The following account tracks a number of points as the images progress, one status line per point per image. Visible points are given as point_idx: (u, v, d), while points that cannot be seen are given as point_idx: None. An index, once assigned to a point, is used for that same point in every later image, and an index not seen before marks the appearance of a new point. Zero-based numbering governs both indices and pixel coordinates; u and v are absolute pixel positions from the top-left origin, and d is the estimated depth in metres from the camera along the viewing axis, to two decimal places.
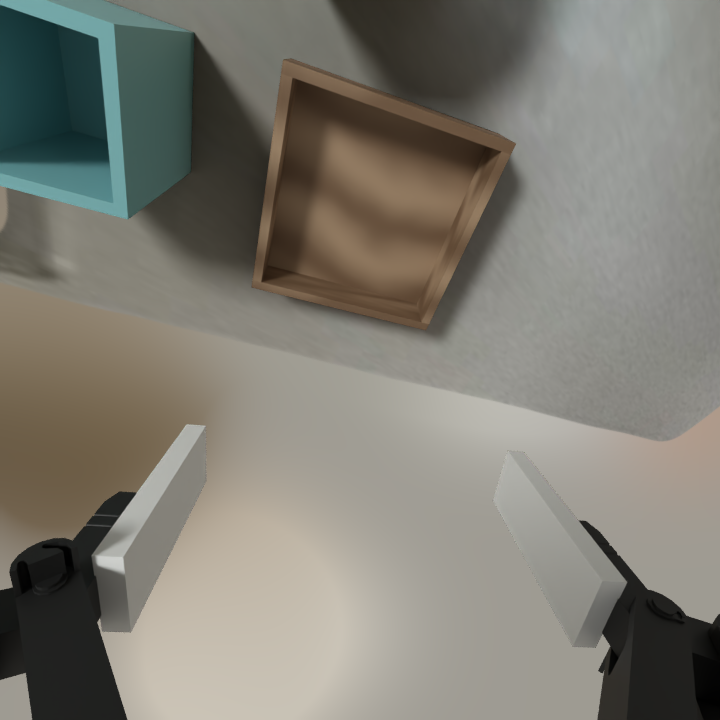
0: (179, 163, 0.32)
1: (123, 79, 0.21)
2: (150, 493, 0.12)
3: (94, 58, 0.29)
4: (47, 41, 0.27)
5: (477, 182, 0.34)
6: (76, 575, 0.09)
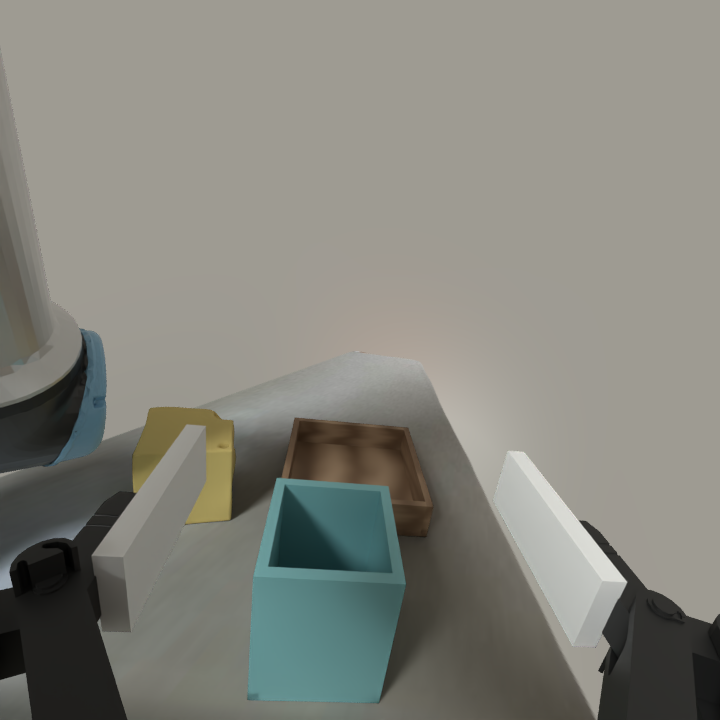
0: None
1: None
2: (150, 493, 0.12)
3: None
4: None
5: (317, 434, 0.61)
6: (76, 575, 0.09)
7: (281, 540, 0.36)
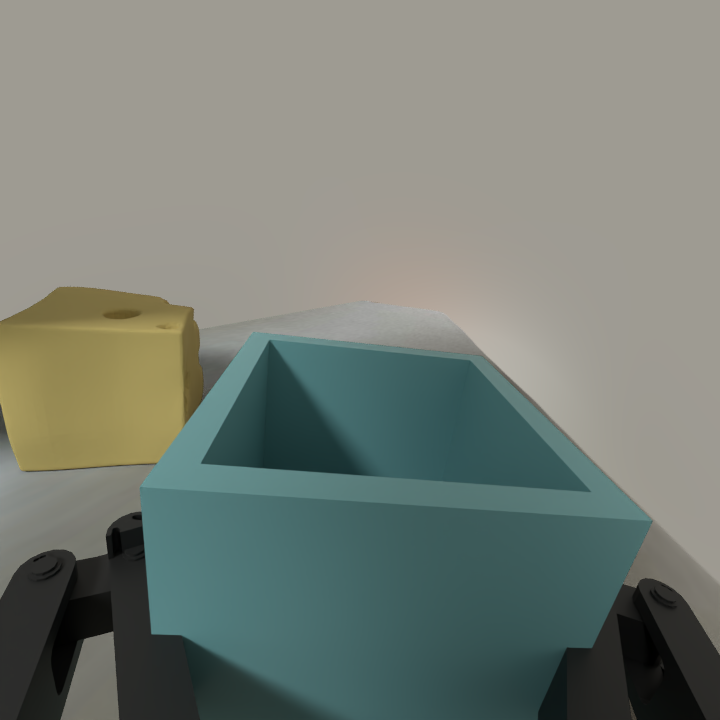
0: None
1: None
2: None
3: None
4: None
5: None
6: None
7: None
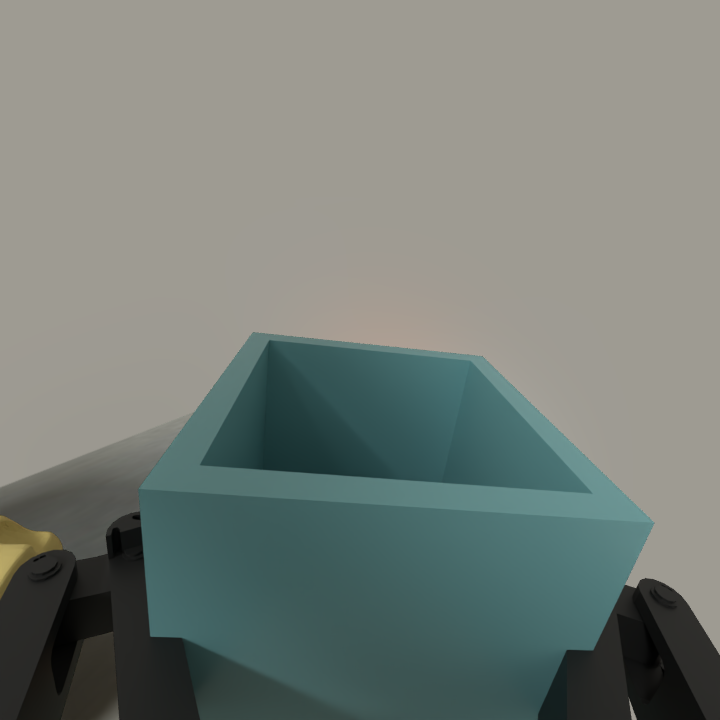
0: None
1: None
2: None
3: None
4: None
5: None
6: None
7: None
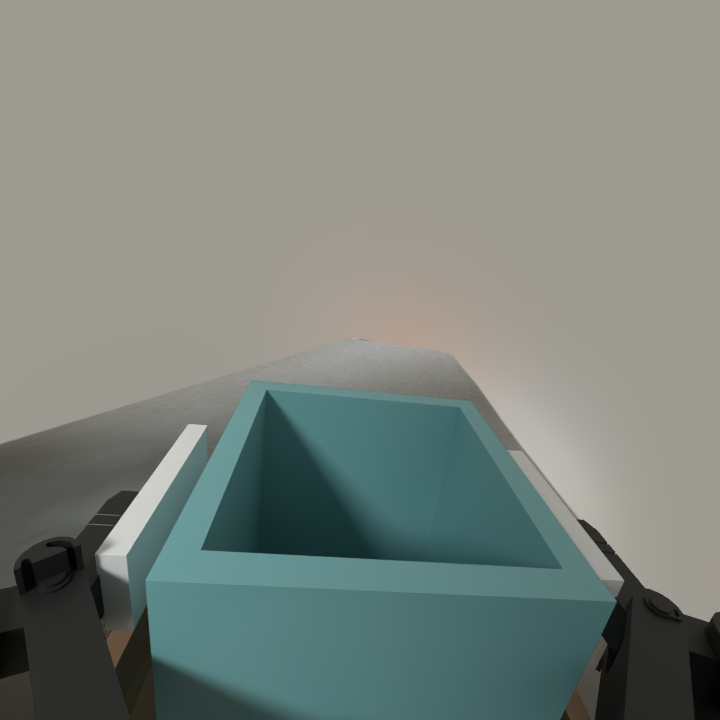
0: None
1: None
2: (152, 492, 0.12)
3: None
4: None
5: None
6: (80, 574, 0.09)
7: (262, 509, 0.18)
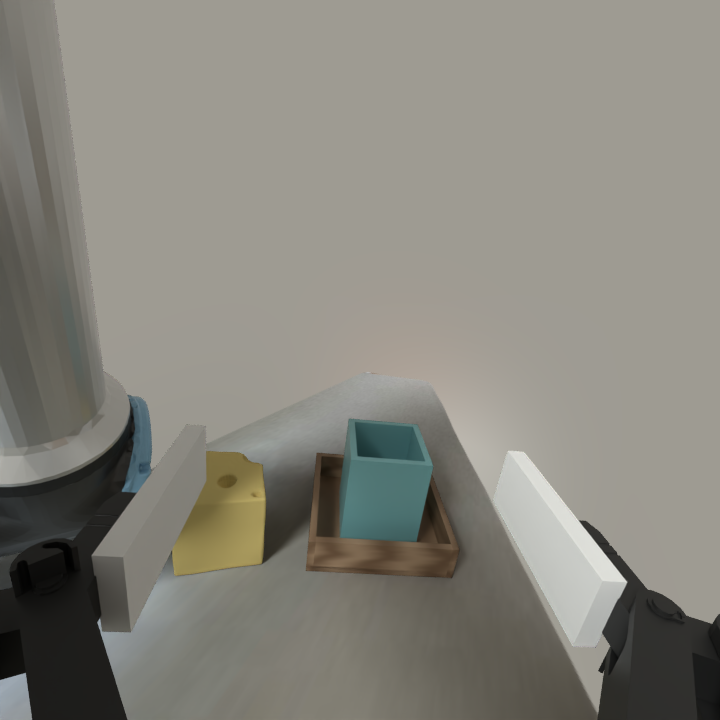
0: None
1: None
2: (150, 493, 0.12)
3: None
4: None
5: (338, 468, 0.62)
6: (76, 575, 0.09)
7: None
